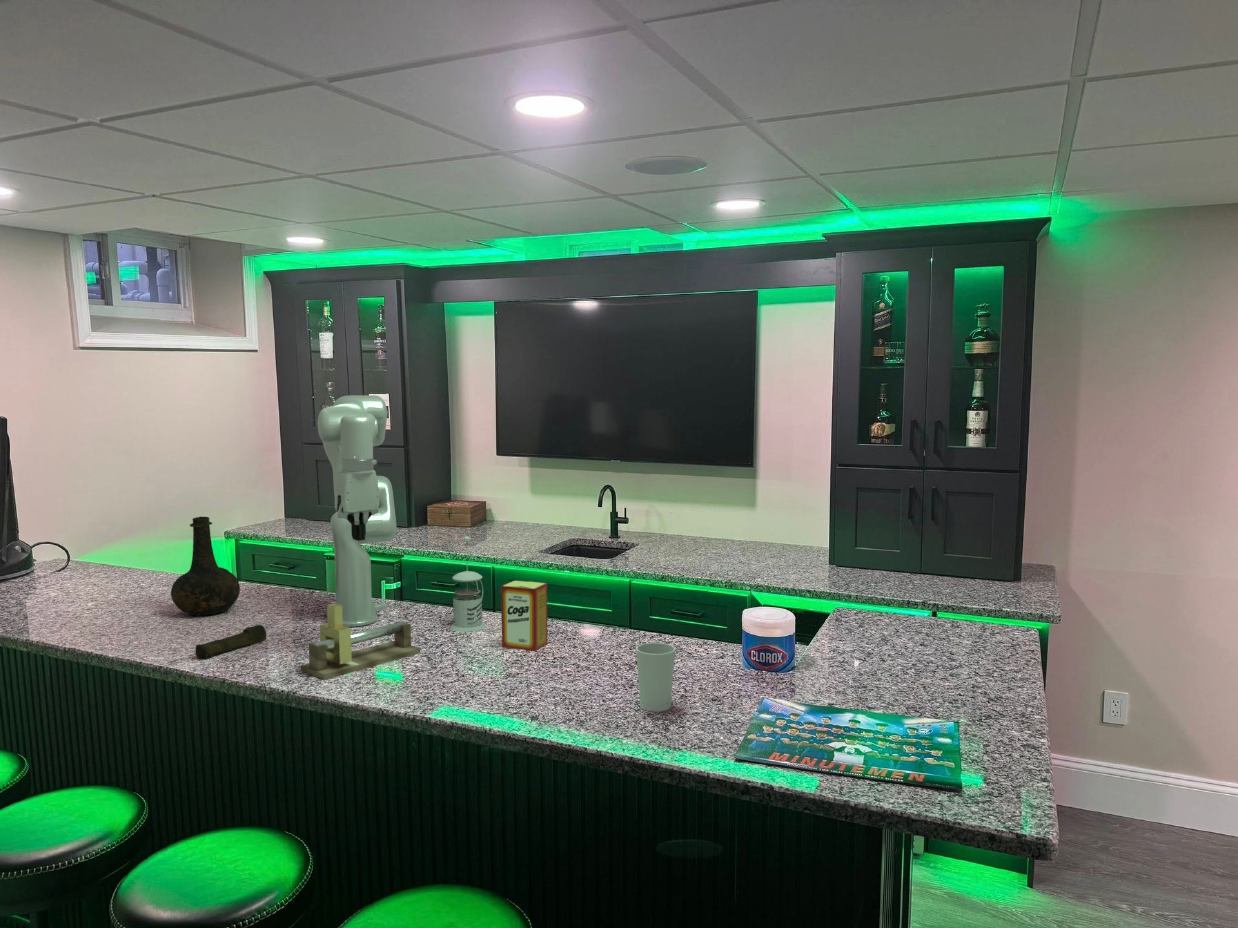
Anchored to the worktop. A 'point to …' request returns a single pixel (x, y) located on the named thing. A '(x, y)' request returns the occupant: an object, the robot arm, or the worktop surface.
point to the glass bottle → (204, 578)
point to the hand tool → (232, 642)
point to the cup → (655, 675)
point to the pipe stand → (360, 656)
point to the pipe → (367, 635)
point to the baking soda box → (524, 615)
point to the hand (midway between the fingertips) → (358, 539)
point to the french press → (467, 602)
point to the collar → (336, 635)
